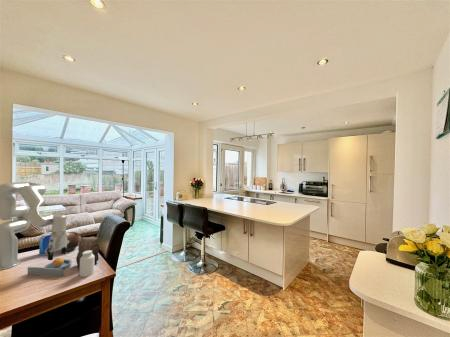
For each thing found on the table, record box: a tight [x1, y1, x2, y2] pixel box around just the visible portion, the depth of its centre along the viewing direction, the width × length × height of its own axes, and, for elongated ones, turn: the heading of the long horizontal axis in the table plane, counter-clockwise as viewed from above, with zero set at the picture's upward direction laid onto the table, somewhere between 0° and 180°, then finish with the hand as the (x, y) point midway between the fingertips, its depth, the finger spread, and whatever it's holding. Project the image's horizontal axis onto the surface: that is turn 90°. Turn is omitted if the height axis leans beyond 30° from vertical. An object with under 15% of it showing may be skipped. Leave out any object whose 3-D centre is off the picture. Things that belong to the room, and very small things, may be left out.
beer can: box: [38, 232, 52, 256], centre depth 153 cm, size 8×8×16 cm
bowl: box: [43, 258, 73, 271], centre depth 132 cm, size 14×14×2 cm
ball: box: [52, 257, 64, 267], centre depth 132 cm, size 6×6×6 cm
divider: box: [27, 266, 64, 278], centre depth 123 cm, size 24×1×4 cm, turn 86°
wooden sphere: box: [60, 231, 82, 252], centre depth 161 cm, size 15×15×15 cm
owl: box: [75, 235, 100, 271], centre depth 137 cm, size 13×13×20 cm
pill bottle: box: [79, 250, 95, 278], centre depth 125 cm, size 8×8×15 cm
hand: (57, 256), depth 132 cm, fingers open, 9 cm apart
